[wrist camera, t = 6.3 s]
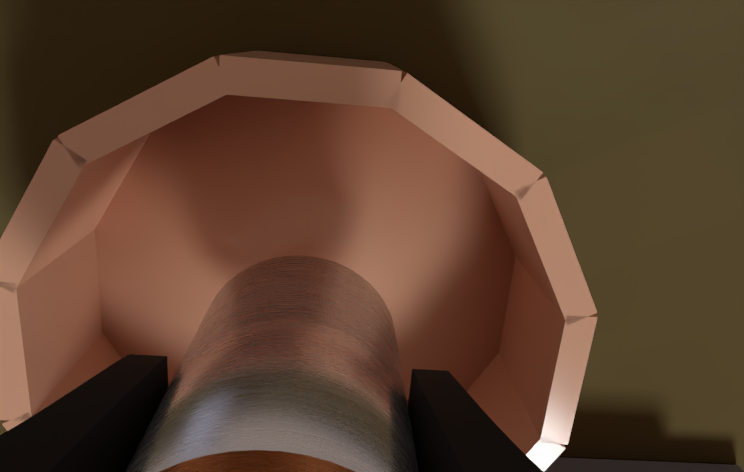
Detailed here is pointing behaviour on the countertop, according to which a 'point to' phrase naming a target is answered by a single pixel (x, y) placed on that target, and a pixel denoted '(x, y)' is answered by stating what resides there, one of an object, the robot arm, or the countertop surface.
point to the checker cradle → (634, 466)
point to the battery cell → (286, 380)
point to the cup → (296, 234)
